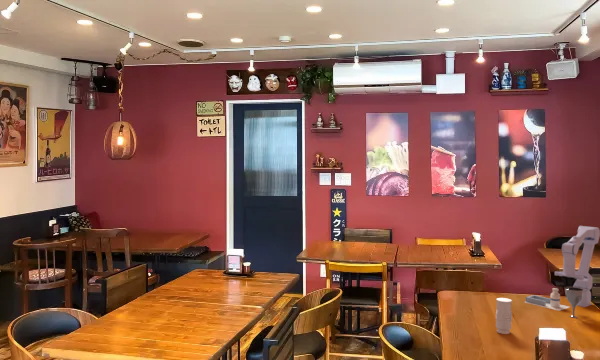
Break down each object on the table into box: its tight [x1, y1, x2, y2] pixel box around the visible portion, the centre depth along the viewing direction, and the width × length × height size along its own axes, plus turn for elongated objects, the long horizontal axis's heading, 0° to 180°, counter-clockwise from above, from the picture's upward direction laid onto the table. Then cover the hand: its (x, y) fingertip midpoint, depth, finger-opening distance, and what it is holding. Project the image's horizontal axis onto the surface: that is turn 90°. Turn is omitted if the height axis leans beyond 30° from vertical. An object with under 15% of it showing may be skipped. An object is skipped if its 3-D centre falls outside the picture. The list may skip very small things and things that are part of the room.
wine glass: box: [564, 287, 583, 319], centre depth 261 cm, size 8×8×15 cm
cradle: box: [524, 294, 570, 312], centre depth 284 cm, size 12×20×3 cm, turn 37°
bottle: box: [549, 287, 561, 308], centre depth 280 cm, size 5×5×10 cm
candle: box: [495, 297, 513, 335], centre depth 240 cm, size 7×7×15 cm
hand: (568, 291), depth 274 cm, fingers closed
